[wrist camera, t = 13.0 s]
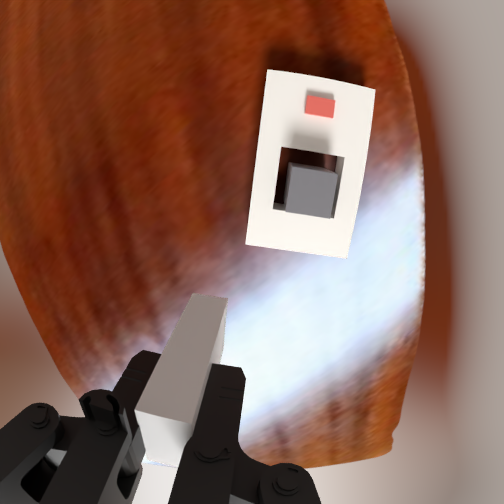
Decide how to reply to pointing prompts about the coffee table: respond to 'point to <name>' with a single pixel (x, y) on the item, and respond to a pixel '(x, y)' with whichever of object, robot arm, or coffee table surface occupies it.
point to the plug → (309, 190)
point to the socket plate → (317, 140)
